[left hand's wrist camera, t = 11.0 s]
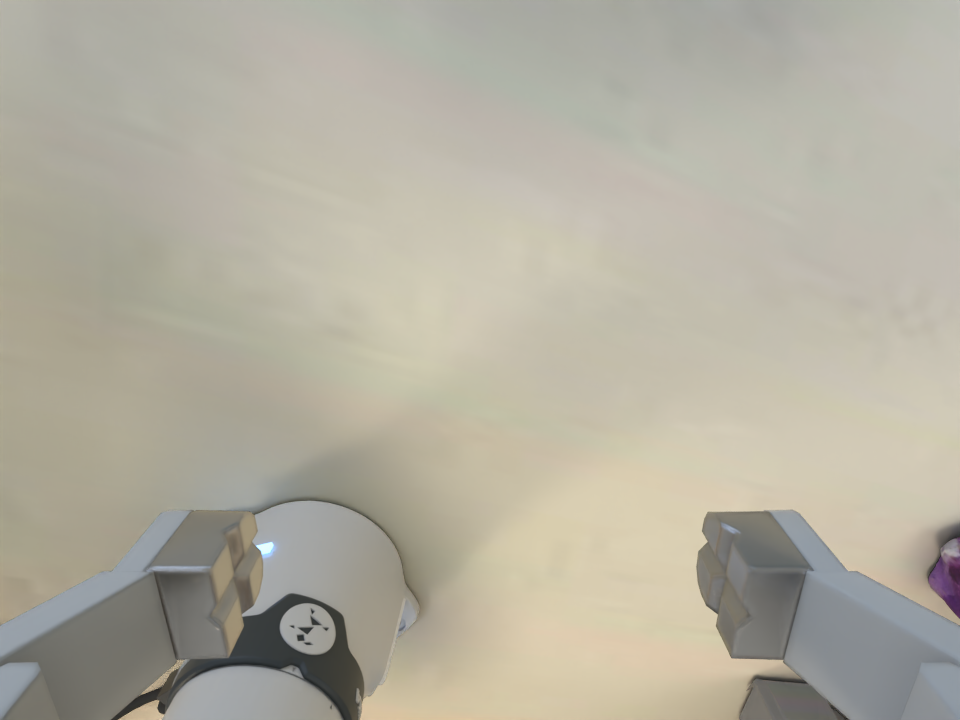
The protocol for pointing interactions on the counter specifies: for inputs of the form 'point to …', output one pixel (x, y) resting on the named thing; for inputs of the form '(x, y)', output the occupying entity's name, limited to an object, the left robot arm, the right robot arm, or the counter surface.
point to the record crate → (786, 702)
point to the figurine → (948, 575)
